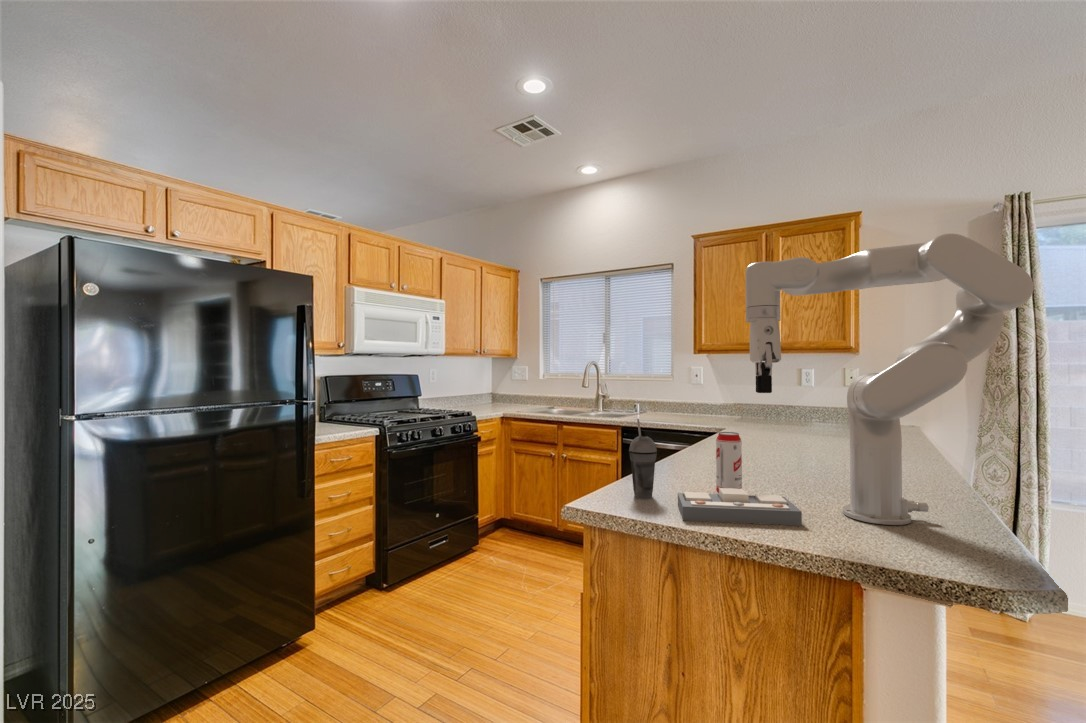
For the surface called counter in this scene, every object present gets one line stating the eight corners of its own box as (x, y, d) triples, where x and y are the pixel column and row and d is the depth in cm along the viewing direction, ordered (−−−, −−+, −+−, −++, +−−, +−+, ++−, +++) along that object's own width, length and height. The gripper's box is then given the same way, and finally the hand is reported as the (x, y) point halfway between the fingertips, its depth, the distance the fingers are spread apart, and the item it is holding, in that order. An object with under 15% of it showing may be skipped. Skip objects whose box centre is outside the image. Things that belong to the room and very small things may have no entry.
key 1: (707, 505, 118) (707, 492, 118) (711, 512, 112) (711, 498, 112) (683, 504, 119) (683, 491, 119) (686, 510, 113) (686, 497, 113)
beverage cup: (660, 500, 125) (659, 420, 125) (631, 500, 125) (630, 420, 125) (654, 492, 132) (654, 417, 132) (626, 492, 132) (626, 417, 132)
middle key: (743, 501, 116) (743, 488, 116) (748, 508, 111) (748, 494, 111) (719, 500, 117) (718, 487, 117) (723, 507, 112) (723, 493, 112)
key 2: (780, 508, 115) (779, 495, 115) (787, 515, 110) (787, 501, 110) (755, 507, 116) (755, 494, 116) (761, 514, 111) (761, 500, 111)
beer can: (744, 493, 130) (743, 432, 131) (739, 499, 125) (738, 435, 125) (719, 490, 134) (719, 431, 134) (713, 496, 129) (713, 433, 129)
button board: (784, 509, 116) (784, 494, 116) (801, 525, 104) (801, 509, 104) (677, 505, 120) (677, 490, 120) (682, 520, 108) (682, 504, 108)
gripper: (789, 311, 110) (790, 394, 110) (771, 317, 125) (771, 391, 125) (753, 312, 111) (754, 394, 111) (739, 318, 126) (740, 391, 126)
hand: (763, 392), depth 118 cm, fingers closed
